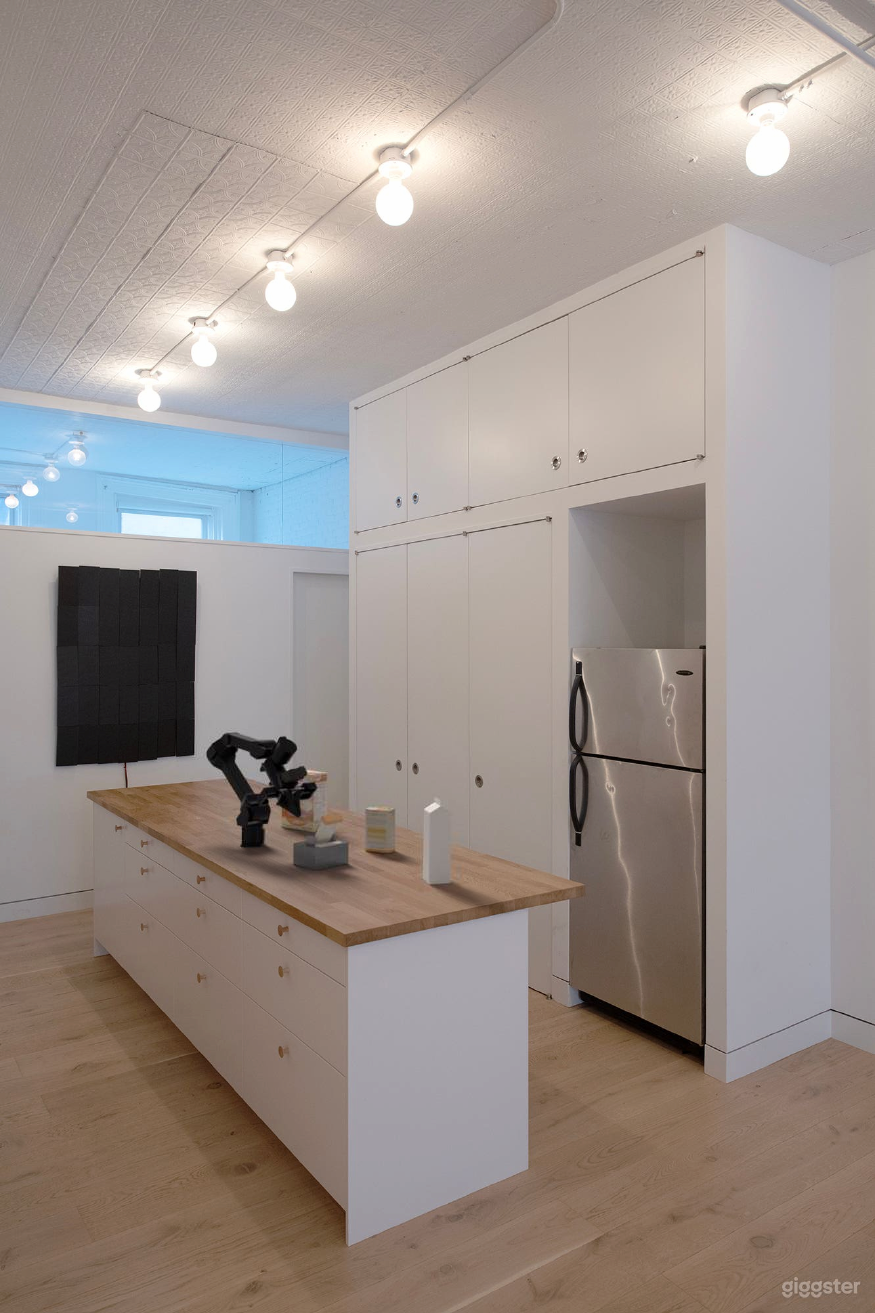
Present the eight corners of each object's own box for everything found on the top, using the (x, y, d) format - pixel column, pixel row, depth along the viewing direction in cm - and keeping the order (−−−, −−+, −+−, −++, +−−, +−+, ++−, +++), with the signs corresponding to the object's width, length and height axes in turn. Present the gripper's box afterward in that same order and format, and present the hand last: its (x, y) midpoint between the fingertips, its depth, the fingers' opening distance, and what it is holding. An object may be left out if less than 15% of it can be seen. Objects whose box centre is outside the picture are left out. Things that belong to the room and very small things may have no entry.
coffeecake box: (280, 827, 304) (281, 770, 304) (295, 823, 310) (295, 768, 309) (312, 832, 295) (313, 774, 295) (327, 829, 301) (327, 771, 301)
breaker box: (293, 864, 251) (293, 834, 251) (326, 857, 260) (326, 829, 260) (315, 870, 245) (315, 840, 244) (348, 863, 253) (348, 834, 253)
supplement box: (395, 850, 270) (396, 808, 270) (388, 854, 265) (388, 810, 265) (372, 848, 273) (372, 805, 273) (364, 851, 269) (364, 808, 269)
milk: (429, 885, 231) (429, 801, 231) (422, 879, 237) (423, 797, 237) (451, 883, 233) (451, 800, 233) (444, 877, 239) (445, 796, 239)
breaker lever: (310, 838, 251) (322, 815, 247) (327, 835, 255) (339, 812, 251) (314, 844, 249) (326, 821, 246) (331, 841, 254) (343, 818, 250)
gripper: (263, 760, 256) (285, 803, 249) (314, 755, 269) (336, 796, 262) (247, 783, 262) (268, 827, 254) (298, 777, 275) (319, 818, 268)
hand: (299, 816), depth 259 cm, fingers closed
